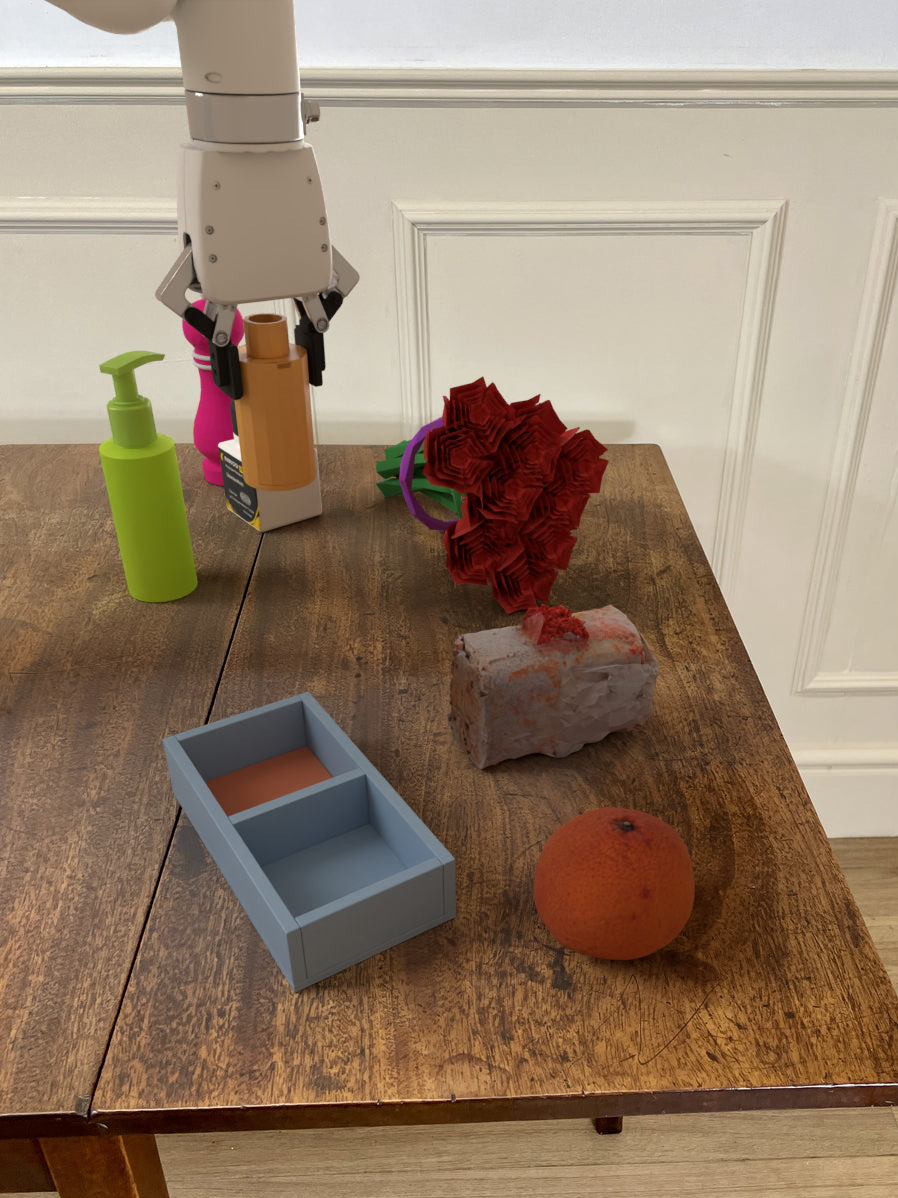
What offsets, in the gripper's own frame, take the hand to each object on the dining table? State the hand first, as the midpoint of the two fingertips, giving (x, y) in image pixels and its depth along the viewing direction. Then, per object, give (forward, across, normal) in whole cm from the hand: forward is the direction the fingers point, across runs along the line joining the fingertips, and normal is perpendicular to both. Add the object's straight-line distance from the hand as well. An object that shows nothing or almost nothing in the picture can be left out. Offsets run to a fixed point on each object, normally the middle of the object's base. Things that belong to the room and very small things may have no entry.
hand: (271, 385), depth 80 cm
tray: (+19, +12, +29) cm, 37 cm away
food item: (+19, -8, +27) cm, 34 cm away
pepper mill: (+19, -6, -29) cm, 35 cm away
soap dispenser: (+19, +8, -9) cm, 23 cm away
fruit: (+19, 0, +44) cm, 48 cm away
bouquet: (+19, -18, -2) cm, 26 cm away
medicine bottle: (+19, -6, -18) cm, 27 cm away
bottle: (+7, 0, 0) cm, 7 cm away
